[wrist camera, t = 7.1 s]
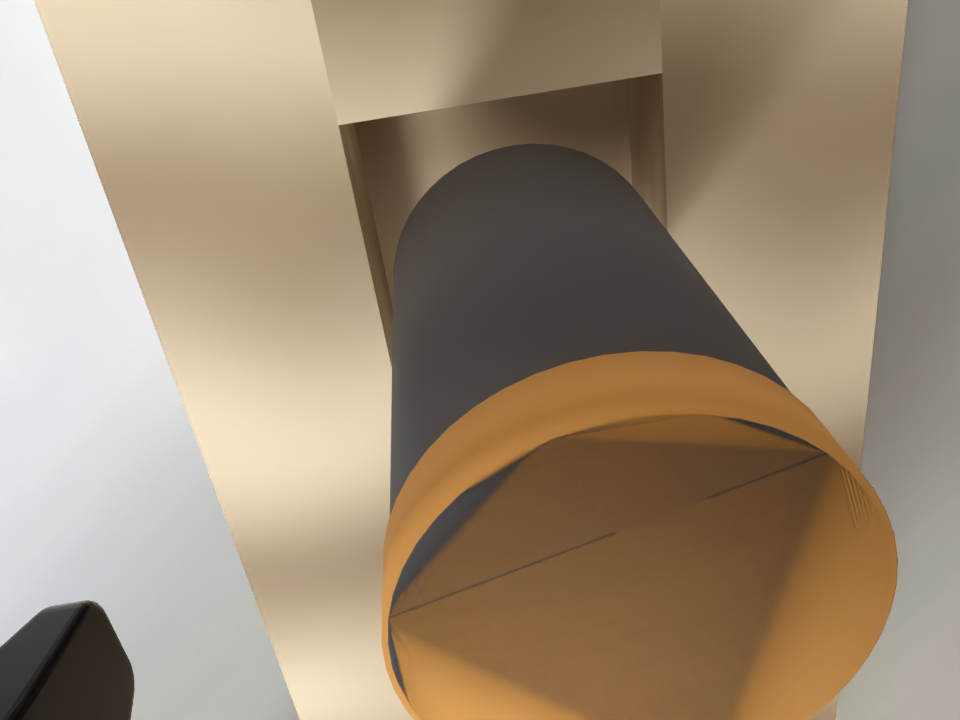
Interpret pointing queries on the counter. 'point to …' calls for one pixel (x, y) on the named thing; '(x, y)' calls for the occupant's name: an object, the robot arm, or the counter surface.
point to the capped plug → (604, 473)
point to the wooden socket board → (403, 182)
